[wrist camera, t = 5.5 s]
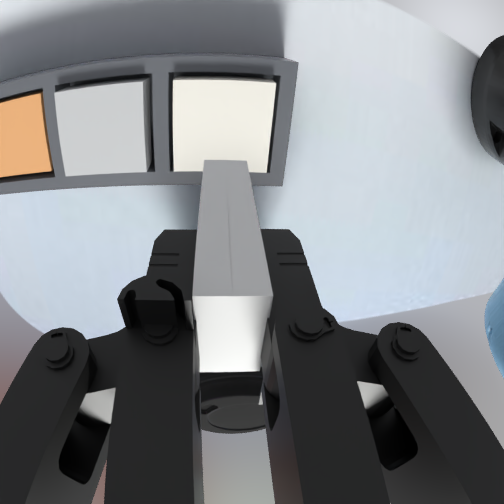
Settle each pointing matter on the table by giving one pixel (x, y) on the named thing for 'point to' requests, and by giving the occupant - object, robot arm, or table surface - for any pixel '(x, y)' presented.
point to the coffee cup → (231, 401)
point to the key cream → (222, 120)
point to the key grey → (105, 127)
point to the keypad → (154, 114)
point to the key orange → (24, 135)
